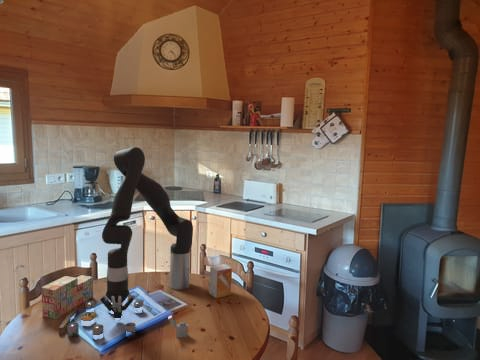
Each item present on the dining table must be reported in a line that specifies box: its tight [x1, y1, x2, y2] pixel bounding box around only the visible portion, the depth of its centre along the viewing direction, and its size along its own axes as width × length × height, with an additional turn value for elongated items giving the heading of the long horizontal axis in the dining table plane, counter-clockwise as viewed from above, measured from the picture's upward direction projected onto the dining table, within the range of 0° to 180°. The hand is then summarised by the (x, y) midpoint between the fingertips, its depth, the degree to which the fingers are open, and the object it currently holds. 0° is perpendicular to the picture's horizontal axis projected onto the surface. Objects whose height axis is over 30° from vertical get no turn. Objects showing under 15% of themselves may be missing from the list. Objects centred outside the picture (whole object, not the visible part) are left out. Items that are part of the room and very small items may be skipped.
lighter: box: [167, 314, 189, 339], centre depth 134 cm, size 7×2×8 cm, turn 100°
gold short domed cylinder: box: [80, 312, 96, 321], centre depth 141 cm, size 5×5×4 cm
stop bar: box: [58, 307, 78, 335], centre depth 140 cm, size 2×15×2 cm, turn 6°
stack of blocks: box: [41, 274, 94, 320], centre depth 153 cm, size 21×6×12 cm, turn 161°
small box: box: [208, 263, 233, 299], centre depth 170 cm, size 8×6×13 cm
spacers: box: [66, 300, 144, 339], centre depth 141 cm, size 24×22×4 cm
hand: (117, 319), depth 142 cm, fingers closed
